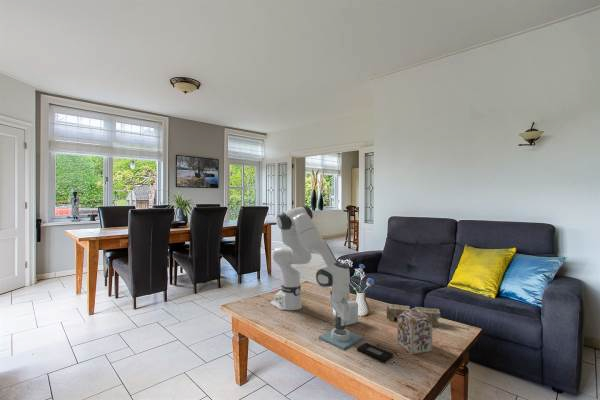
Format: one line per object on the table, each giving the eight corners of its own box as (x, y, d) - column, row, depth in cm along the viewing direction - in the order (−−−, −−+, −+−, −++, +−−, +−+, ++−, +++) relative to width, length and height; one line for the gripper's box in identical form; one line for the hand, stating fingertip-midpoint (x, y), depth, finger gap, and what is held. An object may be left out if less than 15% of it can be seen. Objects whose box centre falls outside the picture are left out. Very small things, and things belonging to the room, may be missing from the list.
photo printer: (353, 319, 176) (354, 298, 176) (359, 322, 172) (359, 301, 172) (340, 323, 170) (340, 302, 170) (345, 326, 167) (346, 304, 167)
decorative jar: (411, 355, 137) (412, 316, 137) (396, 343, 148) (396, 307, 148) (433, 351, 140) (433, 313, 140) (416, 340, 151) (417, 304, 151)
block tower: (386, 322, 176) (440, 327, 166) (386, 307, 176) (440, 312, 166) (387, 317, 183) (439, 322, 174) (386, 303, 183) (438, 307, 174)
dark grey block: (333, 327, 153) (333, 315, 153) (340, 324, 156) (340, 312, 156) (340, 330, 149) (340, 318, 149) (347, 328, 152) (347, 316, 151)
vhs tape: (366, 346, 146) (366, 342, 146) (393, 358, 135) (393, 353, 135) (357, 352, 140) (357, 347, 140) (384, 364, 130) (384, 360, 130)
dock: (318, 338, 152) (318, 331, 152) (338, 328, 164) (338, 322, 164) (343, 349, 141) (343, 342, 141) (362, 338, 152) (362, 332, 152)
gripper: (354, 302, 142) (353, 331, 143) (340, 289, 162) (339, 314, 163) (341, 303, 141) (341, 332, 141) (329, 289, 161) (328, 315, 161)
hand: (340, 322), depth 152 cm, fingers closed on dark grey block, 5 cm apart
